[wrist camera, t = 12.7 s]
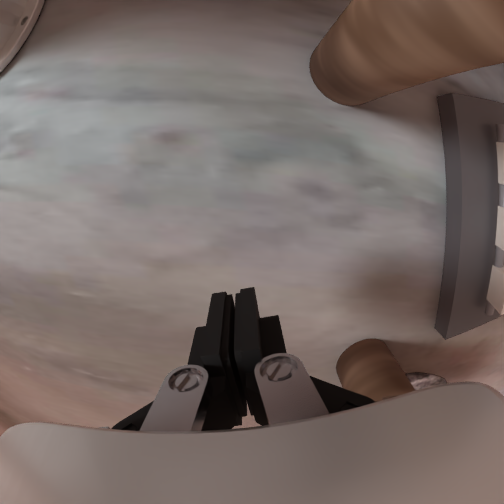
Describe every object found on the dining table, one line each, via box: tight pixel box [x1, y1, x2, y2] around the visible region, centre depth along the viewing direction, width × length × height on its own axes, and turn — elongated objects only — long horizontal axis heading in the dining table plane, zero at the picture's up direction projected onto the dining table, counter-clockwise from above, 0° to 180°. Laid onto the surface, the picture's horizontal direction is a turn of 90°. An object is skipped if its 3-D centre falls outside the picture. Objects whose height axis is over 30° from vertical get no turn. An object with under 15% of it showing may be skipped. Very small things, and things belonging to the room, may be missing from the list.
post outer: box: [336, 339, 415, 401], centre depth 16 cm, size 5×5×14 cm
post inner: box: [309, 0, 504, 106], centre depth 9 cm, size 5×5×14 cm
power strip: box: [435, 93, 504, 340], centre depth 18 cm, size 20×9×2 cm, turn 9°
